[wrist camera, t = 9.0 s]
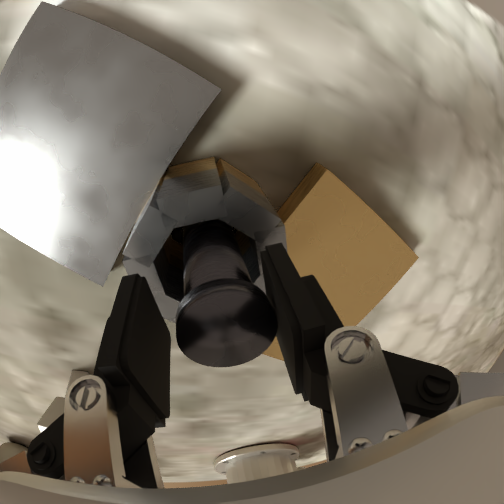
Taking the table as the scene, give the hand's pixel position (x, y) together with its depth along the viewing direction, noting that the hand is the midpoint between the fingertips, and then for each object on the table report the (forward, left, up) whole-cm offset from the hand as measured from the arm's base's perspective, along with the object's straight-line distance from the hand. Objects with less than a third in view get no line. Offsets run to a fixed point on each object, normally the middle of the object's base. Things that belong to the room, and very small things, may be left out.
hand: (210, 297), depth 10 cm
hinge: (0, 0, -7) cm, 7 cm away
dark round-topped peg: (0, 0, -7) cm, 7 cm away
